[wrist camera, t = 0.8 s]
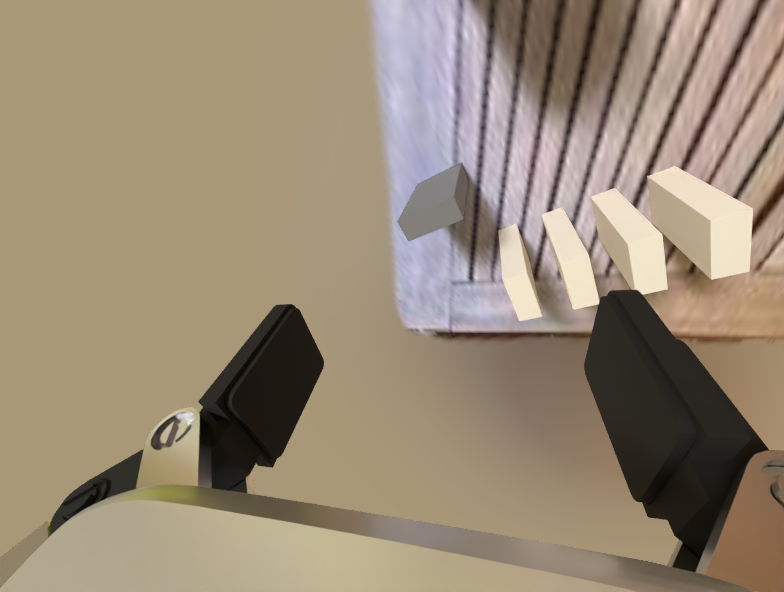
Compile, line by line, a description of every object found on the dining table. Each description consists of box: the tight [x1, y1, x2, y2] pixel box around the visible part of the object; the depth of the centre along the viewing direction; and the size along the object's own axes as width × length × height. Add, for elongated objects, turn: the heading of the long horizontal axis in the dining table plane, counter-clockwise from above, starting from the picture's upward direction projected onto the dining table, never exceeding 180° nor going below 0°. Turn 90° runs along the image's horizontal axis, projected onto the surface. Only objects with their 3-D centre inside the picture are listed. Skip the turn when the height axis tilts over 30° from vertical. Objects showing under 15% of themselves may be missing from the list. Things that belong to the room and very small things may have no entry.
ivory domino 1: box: [498, 224, 542, 321], centre depth 31 cm, size 2×5×10 cm, turn 30°
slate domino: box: [397, 163, 468, 241], centre depth 28 cm, size 2×5×10 cm, turn 120°
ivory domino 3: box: [591, 188, 668, 295], centre depth 26 cm, size 2×5×10 cm, turn 30°
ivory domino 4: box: [647, 166, 753, 280], centre depth 24 cm, size 2×5×10 cm, turn 30°
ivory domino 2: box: [542, 207, 599, 310], centre depth 29 cm, size 2×5×10 cm, turn 30°
